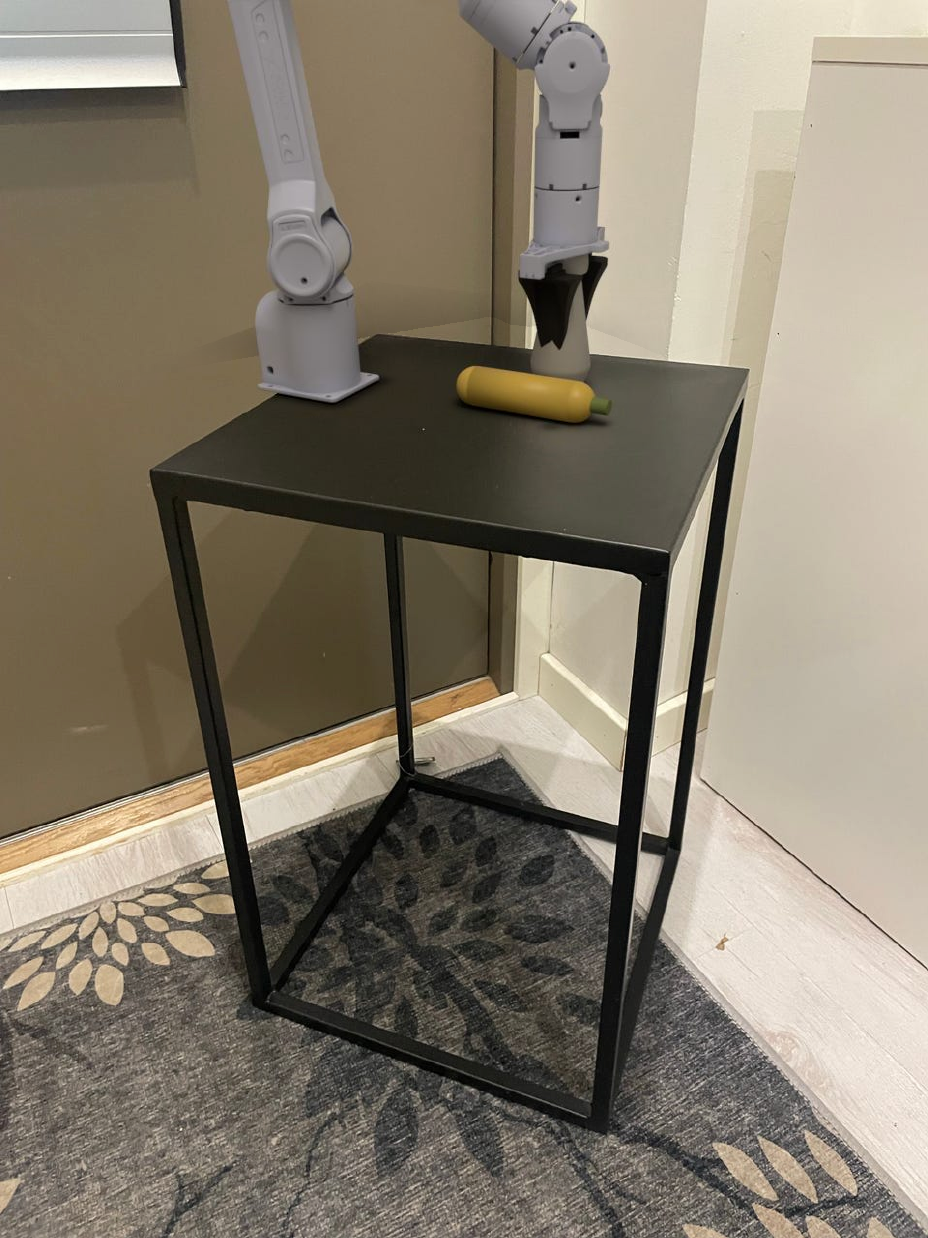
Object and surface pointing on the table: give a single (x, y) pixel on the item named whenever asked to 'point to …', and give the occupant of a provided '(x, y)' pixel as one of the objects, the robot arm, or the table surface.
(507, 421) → the table surface
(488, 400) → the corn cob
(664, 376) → the table surface
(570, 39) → the robot arm
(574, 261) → the salt shaker
